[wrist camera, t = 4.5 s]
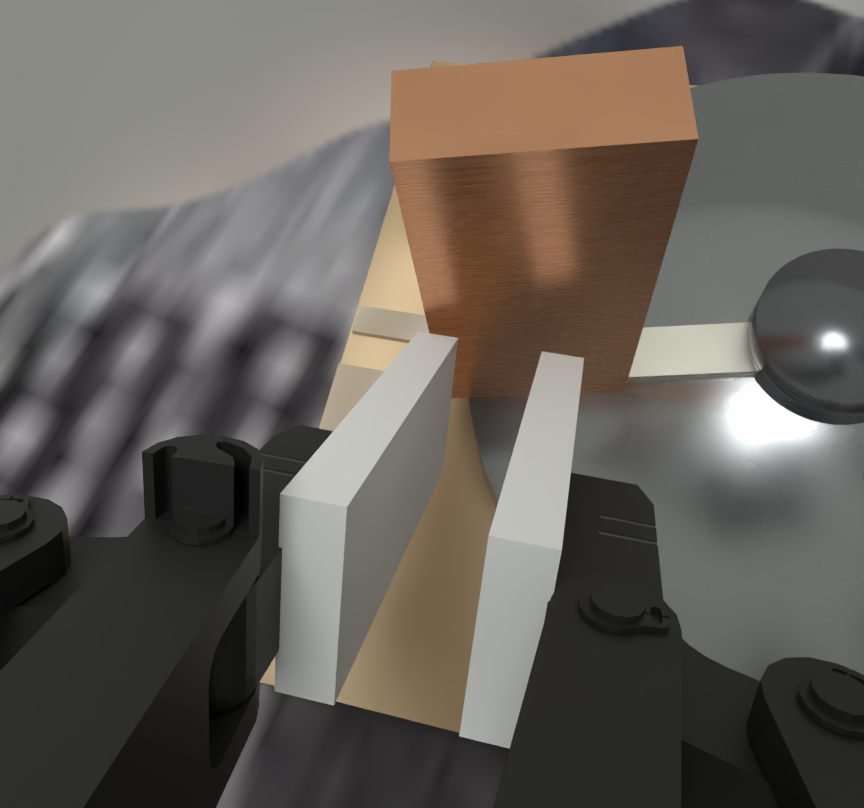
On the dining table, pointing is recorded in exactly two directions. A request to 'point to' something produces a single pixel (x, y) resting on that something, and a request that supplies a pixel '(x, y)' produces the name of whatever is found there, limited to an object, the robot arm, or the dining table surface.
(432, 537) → the tan record player
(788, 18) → the dining table surface
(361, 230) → the dining table surface
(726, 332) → the disc
